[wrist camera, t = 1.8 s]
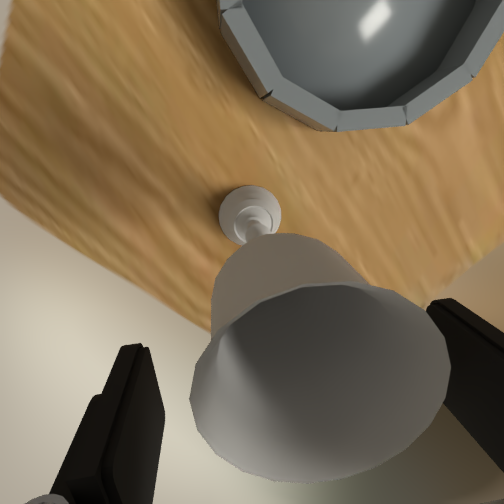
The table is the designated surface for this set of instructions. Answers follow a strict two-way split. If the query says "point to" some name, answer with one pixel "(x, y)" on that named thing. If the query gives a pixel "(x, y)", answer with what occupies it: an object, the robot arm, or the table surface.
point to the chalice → (309, 357)
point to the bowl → (359, 55)
